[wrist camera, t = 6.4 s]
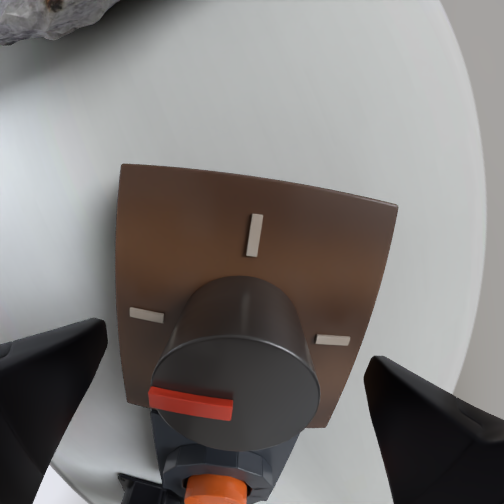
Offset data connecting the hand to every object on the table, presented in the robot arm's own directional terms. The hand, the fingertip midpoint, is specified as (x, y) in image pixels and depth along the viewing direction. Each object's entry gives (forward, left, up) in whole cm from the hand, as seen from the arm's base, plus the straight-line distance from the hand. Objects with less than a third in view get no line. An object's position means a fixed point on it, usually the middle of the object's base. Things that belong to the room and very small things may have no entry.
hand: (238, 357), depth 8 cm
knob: (0, 0, -2) cm, 2 cm away
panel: (0, 0, -5) cm, 5 cm away
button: (-12, 0, -1) cm, 12 cm away
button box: (-12, 0, -5) cm, 13 cm away
